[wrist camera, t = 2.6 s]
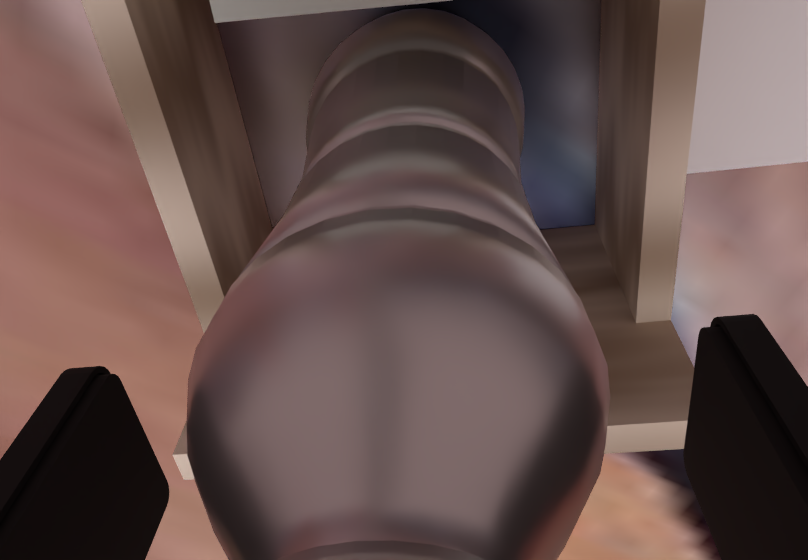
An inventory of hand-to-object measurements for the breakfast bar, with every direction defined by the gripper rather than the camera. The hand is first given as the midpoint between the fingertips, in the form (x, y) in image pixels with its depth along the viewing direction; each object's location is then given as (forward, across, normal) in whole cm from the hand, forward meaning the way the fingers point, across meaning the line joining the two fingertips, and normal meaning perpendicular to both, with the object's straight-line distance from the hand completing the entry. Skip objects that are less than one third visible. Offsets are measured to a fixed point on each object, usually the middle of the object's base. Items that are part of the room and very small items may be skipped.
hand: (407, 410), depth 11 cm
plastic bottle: (+14, 0, -1) cm, 14 cm away
